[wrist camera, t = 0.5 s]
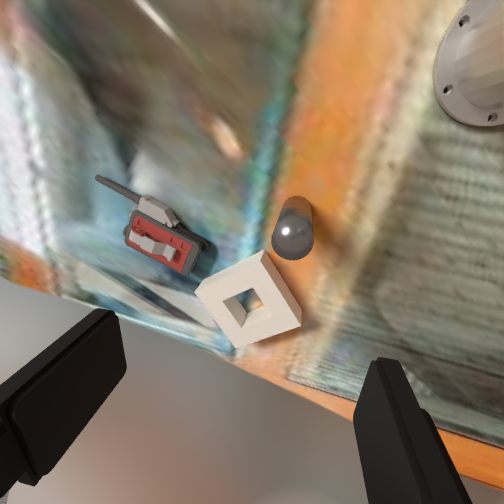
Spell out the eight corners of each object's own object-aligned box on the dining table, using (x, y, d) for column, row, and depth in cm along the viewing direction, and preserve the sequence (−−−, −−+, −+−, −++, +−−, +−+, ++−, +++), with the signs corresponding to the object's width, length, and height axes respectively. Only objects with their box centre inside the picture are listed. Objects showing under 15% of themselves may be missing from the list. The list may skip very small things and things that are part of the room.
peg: (302, 190, 34) (301, 213, 23) (316, 216, 35) (320, 249, 24) (277, 204, 36) (263, 233, 25) (290, 229, 37) (283, 266, 26)
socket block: (264, 249, 39) (260, 260, 35) (301, 309, 42) (301, 325, 38) (203, 279, 43) (194, 292, 39) (241, 332, 46) (235, 348, 42)
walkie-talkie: (218, 231, 39) (103, 168, 39) (208, 241, 35) (80, 172, 35) (199, 273, 43) (94, 217, 43) (188, 287, 39) (72, 225, 39)
